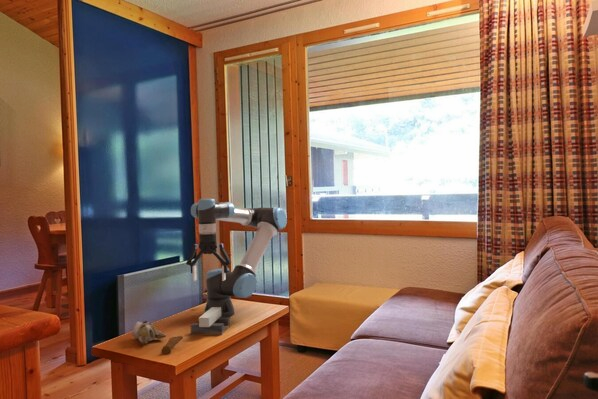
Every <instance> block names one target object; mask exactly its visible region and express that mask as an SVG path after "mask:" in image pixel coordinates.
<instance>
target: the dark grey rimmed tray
mask: <svg viewBox="0 0 598 399" xmlns="http://www.w3.org/2000/svg"><path fill="white" fill-rule="evenodd" d="M230 327H231V316H230V317H220V318H218V319H217V320H216V321H215V322H214V323H213V324H212V325H211V326H210V327H199V322H193V323H192V324H190V335H206V336H207V335H209V336H210V335H213V336H217V335H218V336H222V335H223V334H224V333H225V332H226V331H227V330H228V329H230Z"/></svg>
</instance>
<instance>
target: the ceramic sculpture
mask: <svg viewBox="0 0 598 399" xmlns="http://www.w3.org/2000/svg"><path fill="white" fill-rule="evenodd" d="M132 337H133V338H134V339H136V340H138V342H139V343H140V344H141V345H146V344H148V343H150V342H151V341H154V339H158V340H160V339H163V338H167V335H166V334H164V333H163V332H162V331H161V330H159V329H157V328H156V326H155V325H153V324H152V323H150V322H149V321H147V320H144V321H142V322H141V321H139V320H137V321H136V323H135V324H134V327H133V329H132Z"/></svg>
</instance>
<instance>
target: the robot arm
mask: <svg viewBox="0 0 598 399" xmlns="http://www.w3.org/2000/svg"><path fill="white" fill-rule="evenodd" d="M190 214H191V216H192V217H193V218H195V219H197V220H198V233H199V235H198V240H199V242H198V244H197V243H194V244H192V247H191V252H190V254H189V256H188V258H187V261H186V263H185V264H186V265H187V266H190V274H192V281H193V282H195V281H197V280H198V273H197V272H198V271H197V270H198V269H197V265H196V263H197V262H198V260H200V258H201V257H202V256H203V255H212V254H213V256H215V257H216V258H217V260H218V261H219V262H220V264H222V266H221V267H220V268H215V269H211V270H208V271H207V272H206V276H205V278H206V279H205V281H206V282H205V283H206V285H205V286H206V298H207V299H206V303H205V306H204V311H203V314H204V313H205V312H207V311H208V310H209V309H210V308H212V307H221V317H230V318H231V317H232V316H233V315H235V307H234V303H233V301H232V298H231V297H234V298H239V299H241V298H243V299H245V298H250V297H252V295H253V294H254V293H255V291H256V289H257V283H258V280H257V274H256V272H257V269H258V268H259V267H258V266H259V265H260V262H261V261H262V258H263V257H264V255H265V252H266V251H267V248H268V246H269V245H270V243H271V240H272V238H273V237H274V236H277V234H278V232H279V230H282V229H285V228H286V226H287V223H288V219H287V218H288V217H287V213H286V211H285V210H284V209H283V208H282V207H276V206H274V207H254V208H253V207H252V208H251V207H250V208H249V207H243V208H237V207H235V205H234V204H233V203H232V202H229V201H223V202H222V201H220V202H216V200H215V198H199V200H198V201H197V202H195V203H193V204H192V205H191V207H190ZM216 221H222V222H231V223H238V224H241V225H242V226H245V227H252V228H255V229H257V230H256V232H255V234H254V236H253V238H252V240H251V242H250V244H249V246H248V247H247V250H246V251H245V254H244V256H243V257H242V259H241V261H240V263H239V264H237V265H235V266H234V268H233V269H232V270H230V268H229V267H228V265H231V263H232V261H231V258H230V257H229V255H228V253H227V250H226V249H225V245H224V242H223V243H222V242H221V243H217V233H216V232H217V225H216ZM198 249H199V252H198V253H197V255H196V256H195V254H196V251H197V250H198ZM217 249H219V250H217ZM219 251H220V252H221V253H219ZM194 257H195V258H194Z"/></svg>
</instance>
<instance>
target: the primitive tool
mask: <svg viewBox="0 0 598 399" xmlns="http://www.w3.org/2000/svg"><path fill="white" fill-rule="evenodd" d="M183 339H184V337H183V336H182V335H179V336H172V337H170V338H169V341H168V342H167V343H166V345H165V346H163V347H162V348H161V353H162V355H169V354H171V352H172V349H174V347H175V346H176V345H177V344H179V342H180V341H182V340H183Z"/></svg>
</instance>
